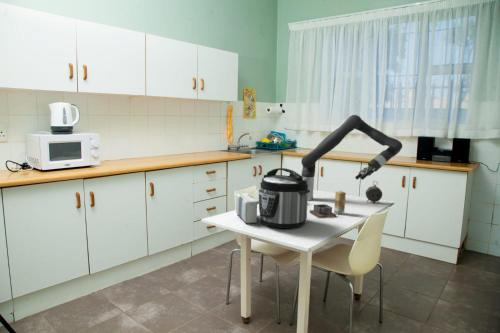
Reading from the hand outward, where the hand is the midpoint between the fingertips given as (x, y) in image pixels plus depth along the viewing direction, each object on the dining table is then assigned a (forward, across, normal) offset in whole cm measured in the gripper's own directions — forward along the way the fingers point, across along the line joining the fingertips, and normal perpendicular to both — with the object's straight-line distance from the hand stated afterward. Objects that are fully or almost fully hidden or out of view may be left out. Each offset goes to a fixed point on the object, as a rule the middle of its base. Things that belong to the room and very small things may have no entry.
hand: (358, 178), depth 231 cm
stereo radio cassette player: (+73, +12, -28) cm, 79 cm away
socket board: (+34, +4, +2) cm, 34 cm away
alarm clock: (-5, -26, +28) cm, 38 cm away
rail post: (+25, +2, +9) cm, 26 cm away
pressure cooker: (+58, +20, -14) cm, 64 cm away
